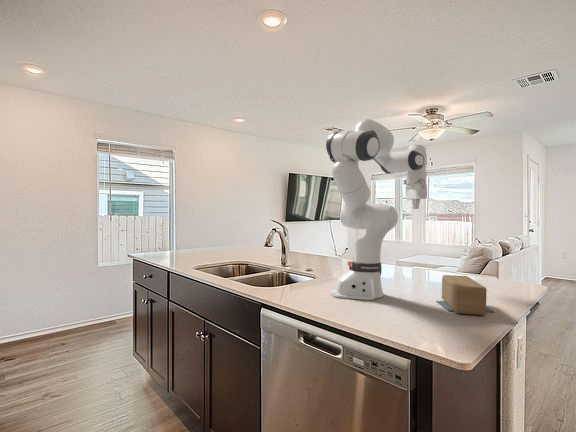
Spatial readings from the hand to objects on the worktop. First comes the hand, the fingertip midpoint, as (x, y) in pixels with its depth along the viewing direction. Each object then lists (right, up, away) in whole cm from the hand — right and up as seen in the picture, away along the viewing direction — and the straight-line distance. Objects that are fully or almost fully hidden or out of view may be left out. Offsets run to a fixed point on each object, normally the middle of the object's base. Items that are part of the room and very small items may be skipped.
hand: (415, 208), depth 158 cm
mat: (+6, -38, -32) cm, 50 cm away
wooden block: (+7, -33, -23) cm, 40 cm away
